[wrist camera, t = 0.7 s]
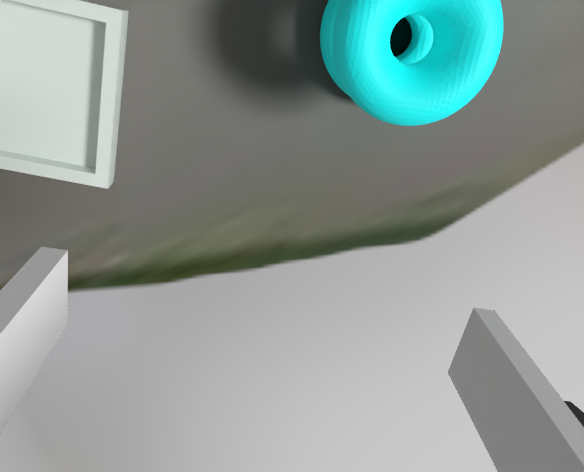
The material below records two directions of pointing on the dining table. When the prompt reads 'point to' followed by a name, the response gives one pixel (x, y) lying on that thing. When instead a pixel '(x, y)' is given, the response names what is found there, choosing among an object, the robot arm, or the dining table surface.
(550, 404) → the robot arm
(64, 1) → the dish
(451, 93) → the donuts
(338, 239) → the dining table surface
